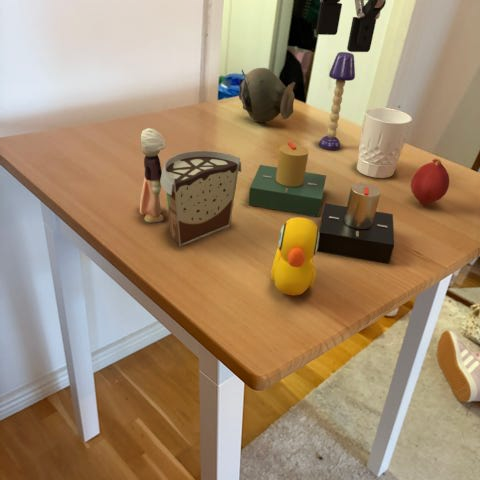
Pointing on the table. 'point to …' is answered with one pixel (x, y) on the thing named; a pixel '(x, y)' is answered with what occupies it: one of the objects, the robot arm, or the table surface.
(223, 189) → the food container
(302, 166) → the dial
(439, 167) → the onion
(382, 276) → the table surface
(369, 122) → the white cup
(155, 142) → the grandmother figurine
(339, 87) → the toy lamp
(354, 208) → the dial
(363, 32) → the robot arm
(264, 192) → the panel
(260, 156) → the table surface
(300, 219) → the duckling
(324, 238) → the panel
